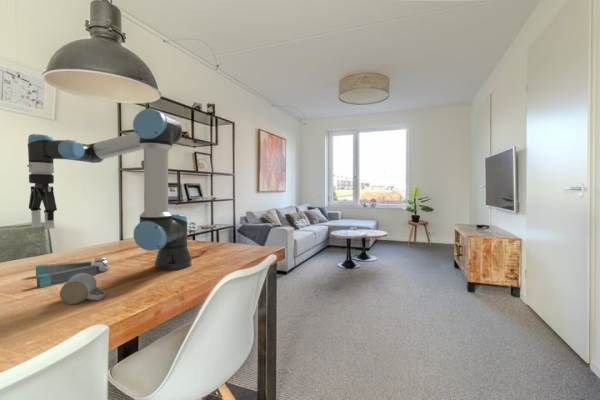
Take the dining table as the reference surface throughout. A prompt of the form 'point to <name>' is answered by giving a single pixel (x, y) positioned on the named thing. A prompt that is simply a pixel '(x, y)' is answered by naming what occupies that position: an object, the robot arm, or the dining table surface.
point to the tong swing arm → (63, 266)
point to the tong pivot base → (71, 273)
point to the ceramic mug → (80, 289)
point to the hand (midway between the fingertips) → (42, 227)
